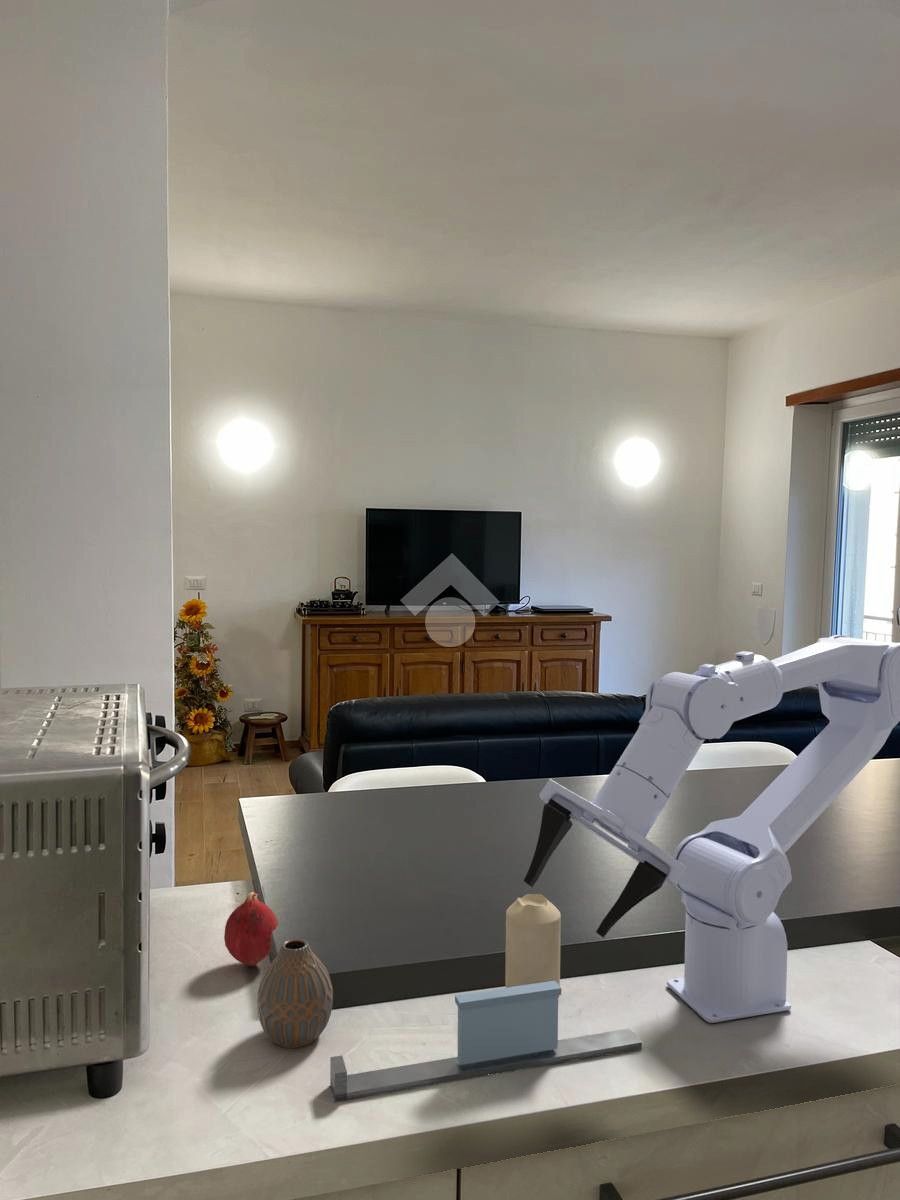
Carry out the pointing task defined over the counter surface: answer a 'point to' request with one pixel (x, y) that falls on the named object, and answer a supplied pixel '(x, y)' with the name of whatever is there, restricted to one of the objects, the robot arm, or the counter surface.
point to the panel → (507, 1021)
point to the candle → (532, 941)
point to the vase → (295, 996)
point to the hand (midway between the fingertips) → (563, 909)
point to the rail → (472, 1066)
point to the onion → (250, 931)
